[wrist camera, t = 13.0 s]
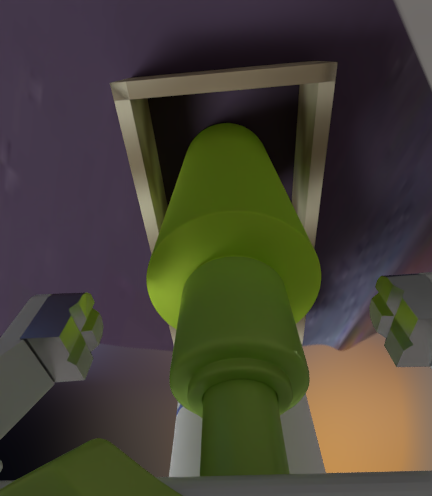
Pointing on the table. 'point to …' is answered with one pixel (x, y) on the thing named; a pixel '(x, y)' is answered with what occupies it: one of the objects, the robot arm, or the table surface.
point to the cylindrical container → (294, 432)
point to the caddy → (304, 73)
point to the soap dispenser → (217, 321)
